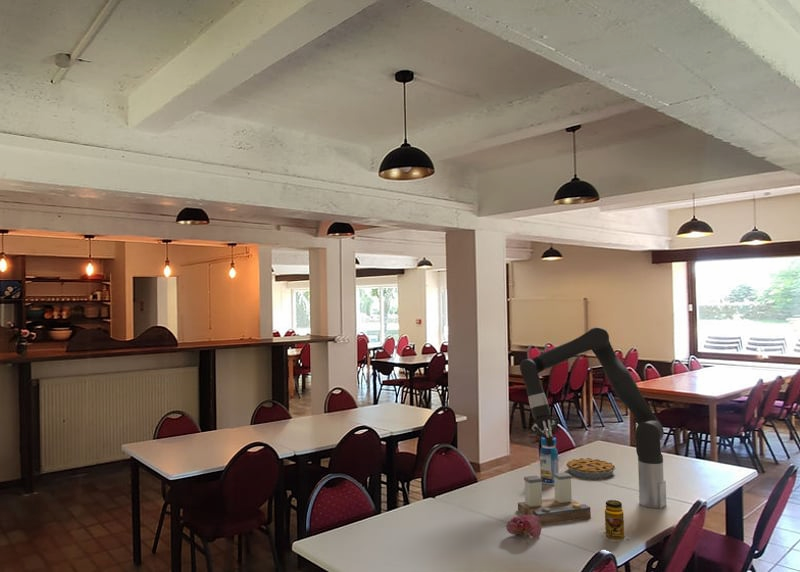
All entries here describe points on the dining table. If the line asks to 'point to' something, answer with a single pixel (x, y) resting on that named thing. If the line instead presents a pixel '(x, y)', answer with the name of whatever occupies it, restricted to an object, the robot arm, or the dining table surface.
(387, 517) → the dining table surface
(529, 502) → the plunger
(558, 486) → the marked plunger
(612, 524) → the condiment
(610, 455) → the dining table surface
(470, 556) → the dining table surface
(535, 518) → the flower
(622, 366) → the robot arm
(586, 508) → the button board
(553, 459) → the beverage bottle
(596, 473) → the pie
